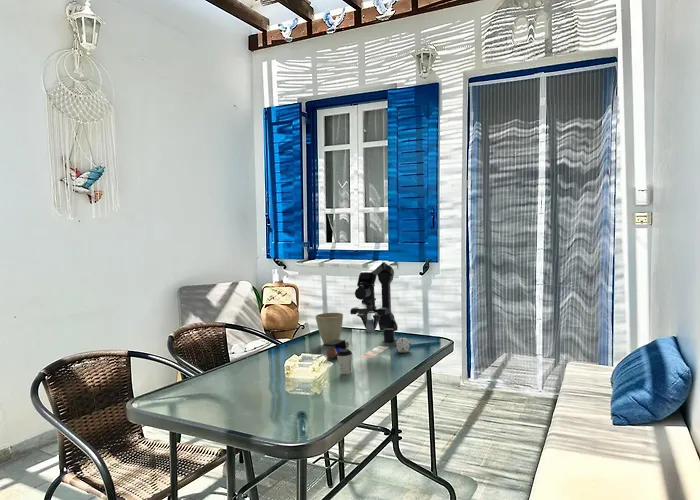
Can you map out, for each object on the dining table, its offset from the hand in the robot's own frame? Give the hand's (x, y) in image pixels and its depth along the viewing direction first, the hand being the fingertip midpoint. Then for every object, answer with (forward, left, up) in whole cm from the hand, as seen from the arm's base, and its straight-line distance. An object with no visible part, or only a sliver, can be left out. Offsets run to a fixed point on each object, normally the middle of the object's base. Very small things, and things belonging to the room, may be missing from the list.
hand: (370, 328), depth 243 cm
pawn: (0, 0, -1) cm, 1 cm away
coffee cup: (+30, +2, -13) cm, 33 cm away
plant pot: (-13, -31, -13) cm, 36 cm away
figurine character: (+5, -17, -13) cm, 22 cm away
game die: (-6, +14, -13) cm, 20 cm away
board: (-3, 0, -13) cm, 13 cm away
